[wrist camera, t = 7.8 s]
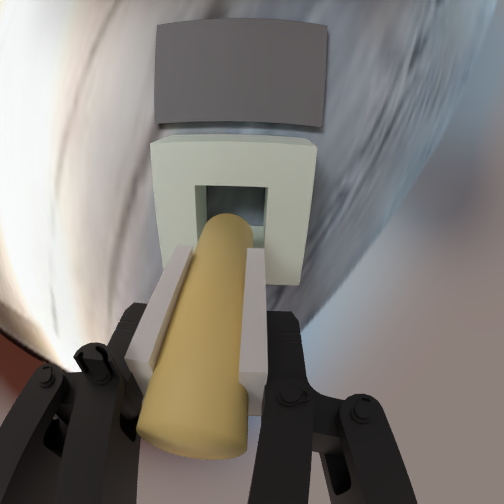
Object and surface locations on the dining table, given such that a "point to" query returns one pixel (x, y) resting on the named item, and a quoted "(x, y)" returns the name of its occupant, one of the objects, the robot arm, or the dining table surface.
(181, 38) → the mat
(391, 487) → the robot arm
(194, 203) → the hole block
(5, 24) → the dining table surface
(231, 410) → the peg
